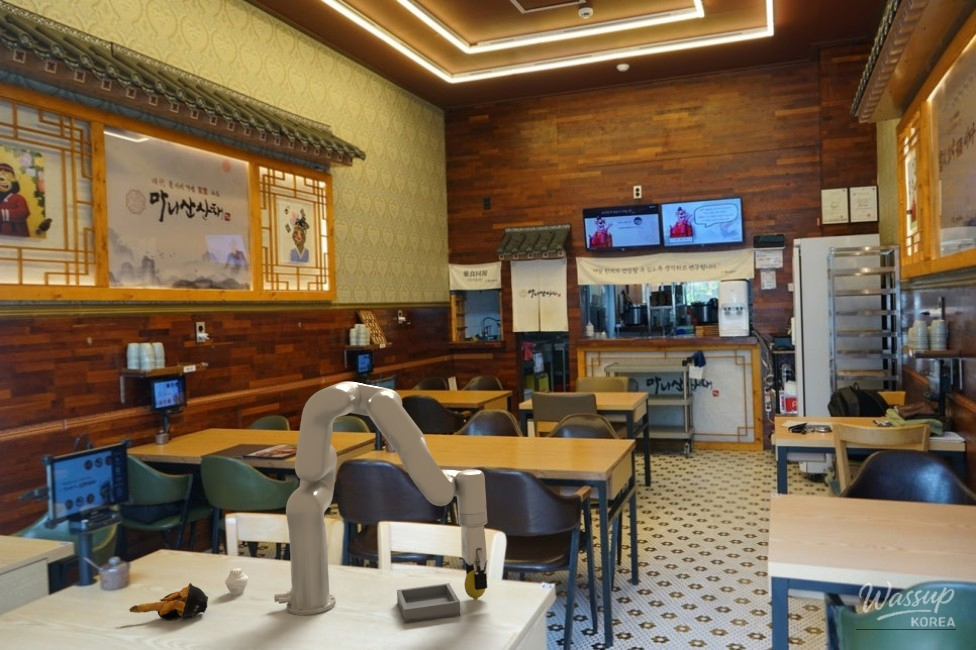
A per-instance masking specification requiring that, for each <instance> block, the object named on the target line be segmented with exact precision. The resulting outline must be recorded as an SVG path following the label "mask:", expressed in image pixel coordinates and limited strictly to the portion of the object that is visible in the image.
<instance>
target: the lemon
mask: <svg viewBox="0 0 976 650" xmlns="http://www.w3.org/2000/svg"><path fill="white" fill-rule="evenodd" d="M474 574H475V570H473V571H471V572H469V573H468V574H467V576H465V578H464V590H465V593H466V595H467V596H468V597H470V598H472V599H473V600H475V601H477V600H478V599H479V598H480V597H482V596H483V595H484V594H485V591H486V589H480V590H476V589H475V584H474Z"/></svg>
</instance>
